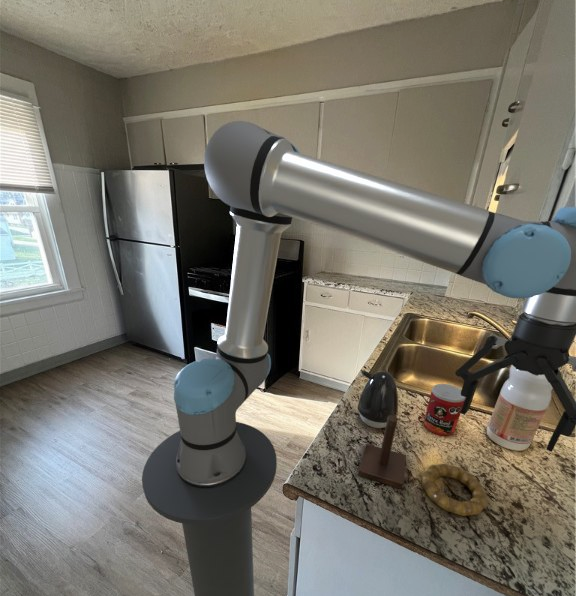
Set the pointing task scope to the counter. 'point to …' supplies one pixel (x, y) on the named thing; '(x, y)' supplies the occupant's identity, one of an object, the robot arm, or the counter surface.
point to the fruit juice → (519, 409)
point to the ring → (447, 503)
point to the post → (384, 459)
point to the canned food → (444, 409)
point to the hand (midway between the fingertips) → (504, 427)
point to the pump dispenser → (378, 399)
